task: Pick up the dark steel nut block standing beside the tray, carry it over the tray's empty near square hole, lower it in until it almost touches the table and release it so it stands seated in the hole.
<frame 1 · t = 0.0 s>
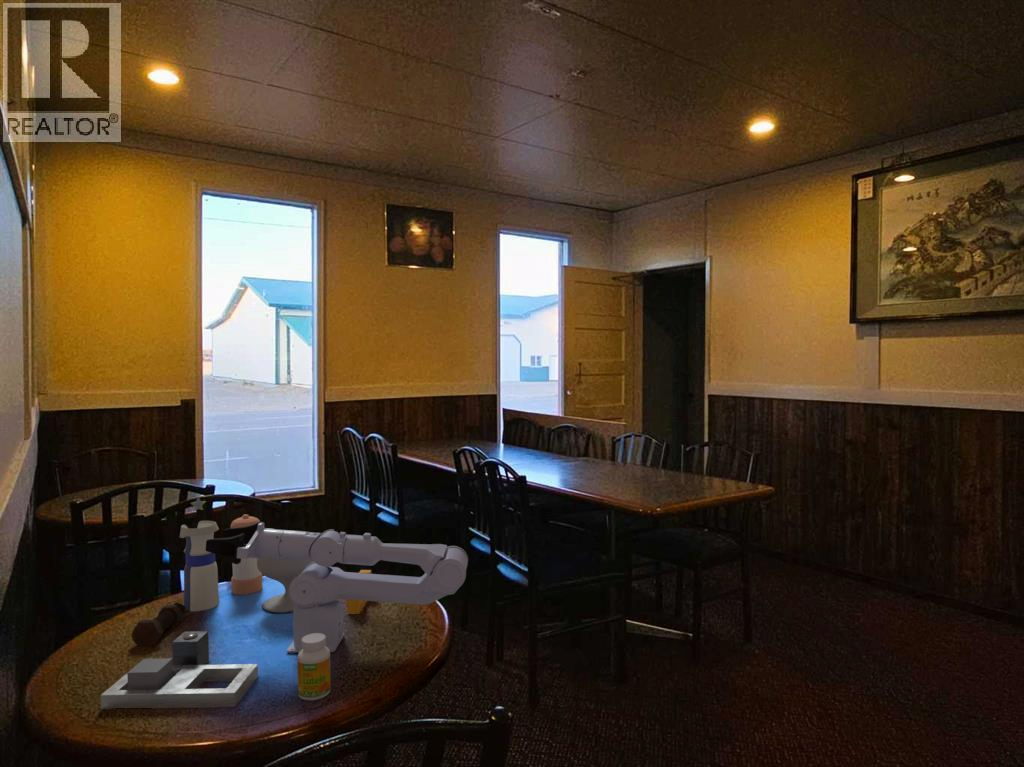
hand: (215, 539, 126), 22 cm above the table, tool horizontal, fingers open, 7 cm apart
chalice: (289, 604, 149), on the table
supplement bottle: (314, 694, 108), on the table
slate block: (151, 693, 109), resting in tray
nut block: (191, 668, 118), on the table
tray: (183, 692, 109), on the table
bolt: (164, 632, 134), on the table
pipe clamp: (356, 606, 148), on the table
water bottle: (200, 606, 148), on the table
salt shaker: (247, 590, 159), on the table
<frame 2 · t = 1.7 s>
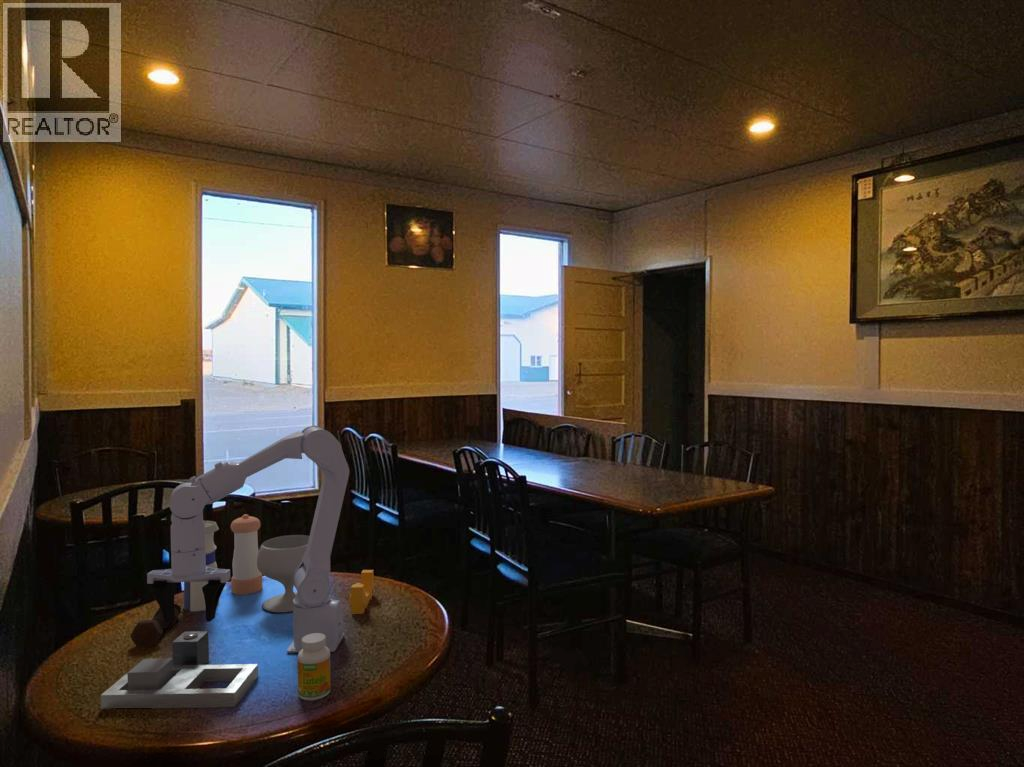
hand: (190, 620, 117), 9 cm above the table, tool pointing down, fingers open, 7 cm apart
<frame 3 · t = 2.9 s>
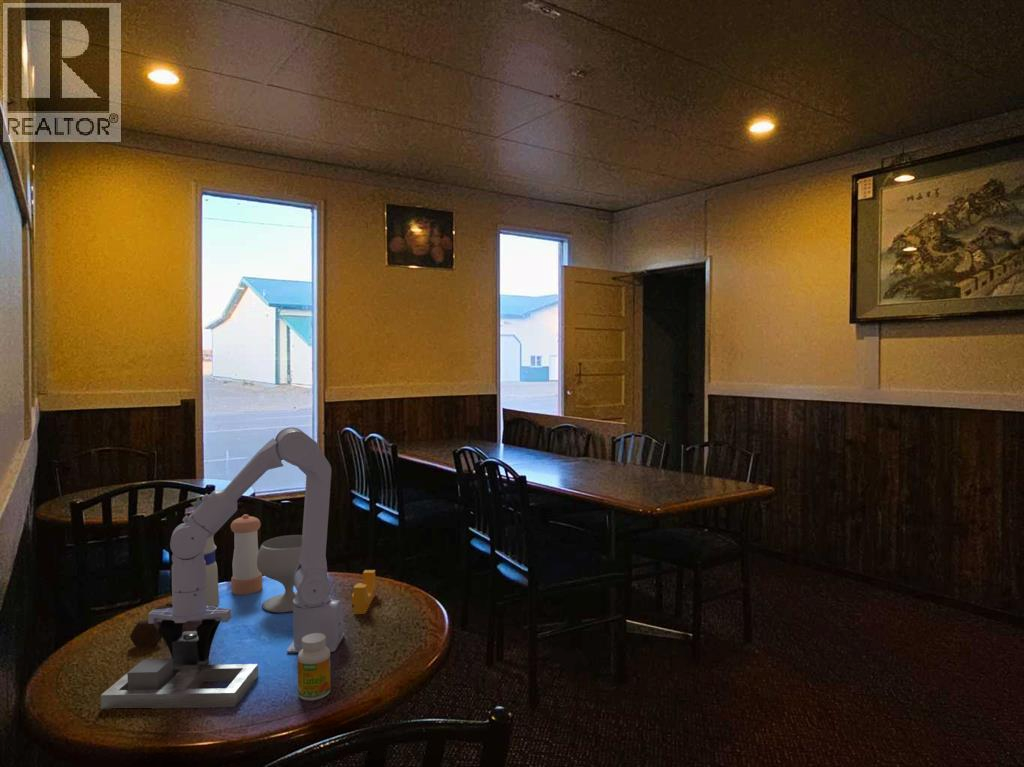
hand: (191, 659, 118), 2 cm above the table, tool pointing down, fingers closed on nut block, 4 cm apart
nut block: (191, 667, 118), on the table, touching gripper
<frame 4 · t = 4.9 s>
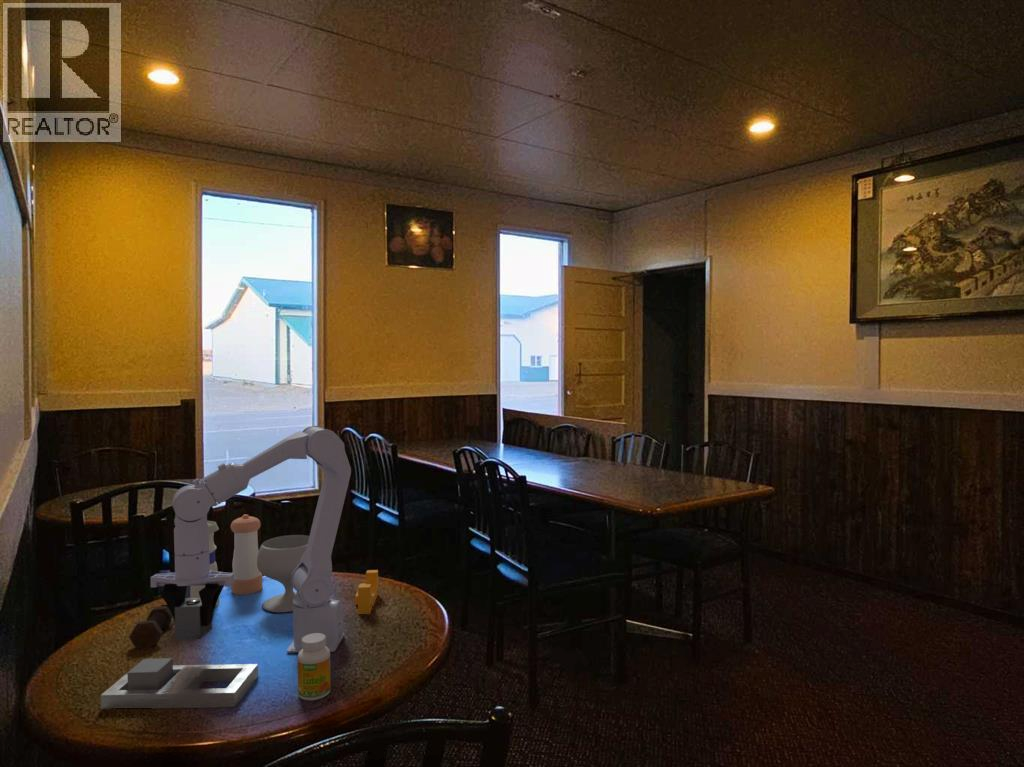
hand: (194, 624, 116), 9 cm above the table, tool pointing down, fingers closed on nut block, 4 cm apart
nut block: (194, 634, 116), point 7 cm above the table, touching gripper
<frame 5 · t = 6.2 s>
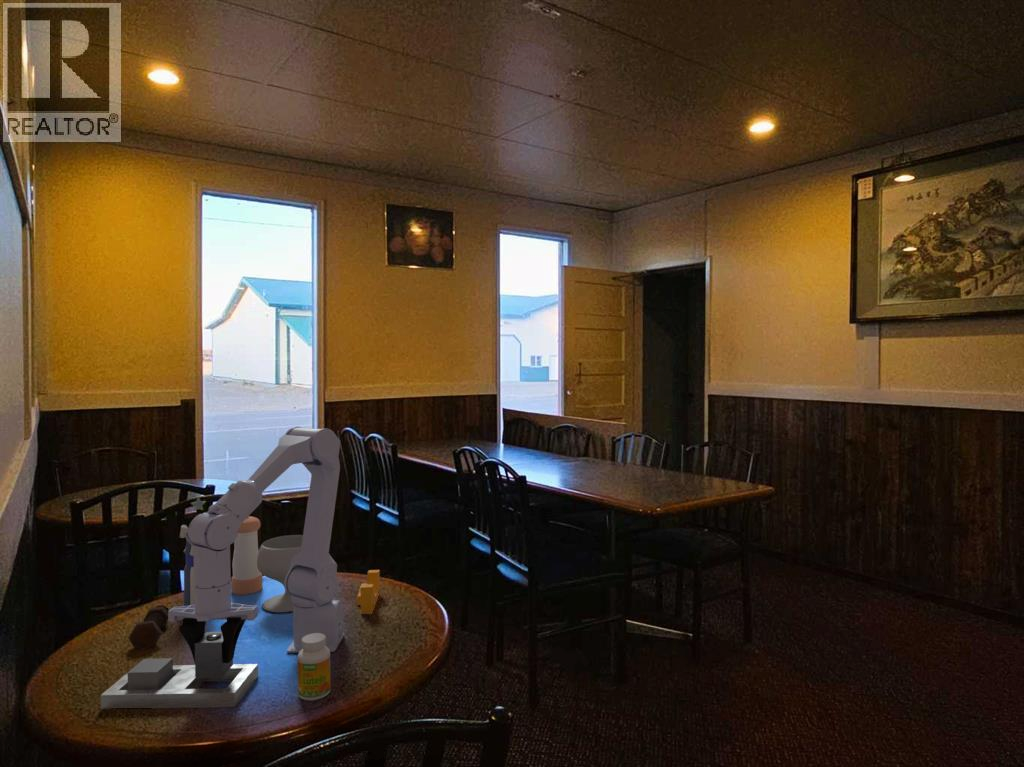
hand: (214, 660, 109), 6 cm above the table, tool pointing down, fingers closed on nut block, 4 cm apart
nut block: (214, 671, 109), point 4 cm above the table, touching gripper
when the fingers open (3 cm above the table, at t = 7.1 s): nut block drops 1 cm, resting in tray.
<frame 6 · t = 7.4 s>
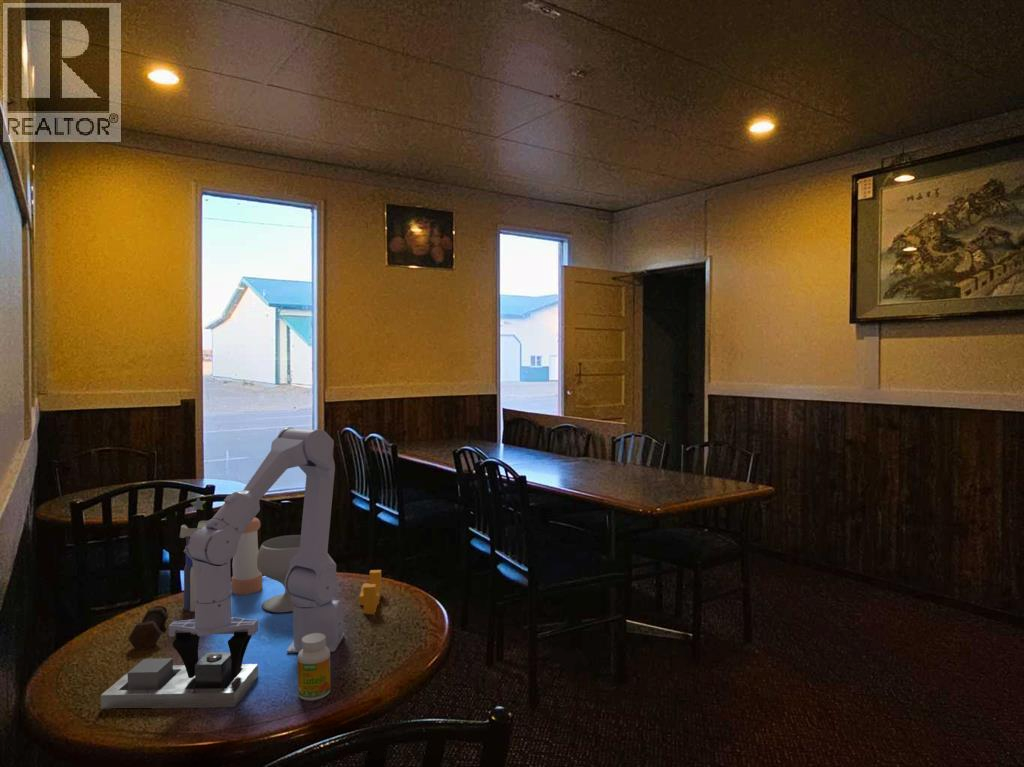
hand: (214, 674, 109), 3 cm above the table, tool pointing down, fingers open, 7 cm apart
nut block: (215, 692, 109), resting in tray
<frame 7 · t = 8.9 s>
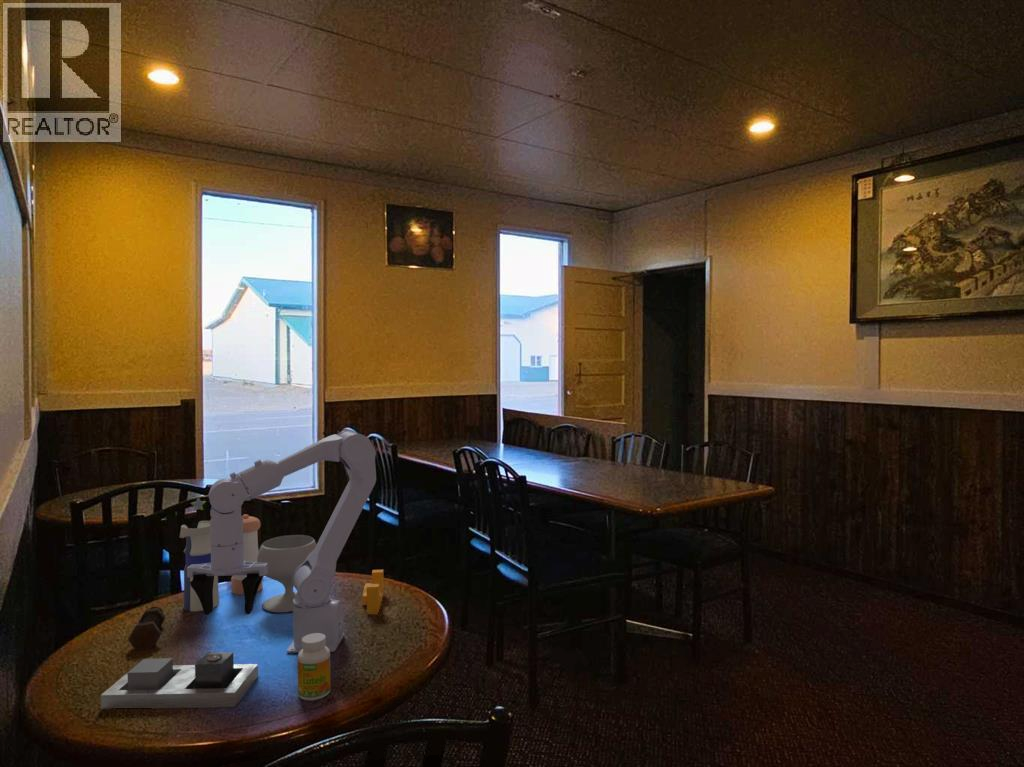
hand: (228, 612, 120), 9 cm above the table, tool pointing down, fingers open, 7 cm apart
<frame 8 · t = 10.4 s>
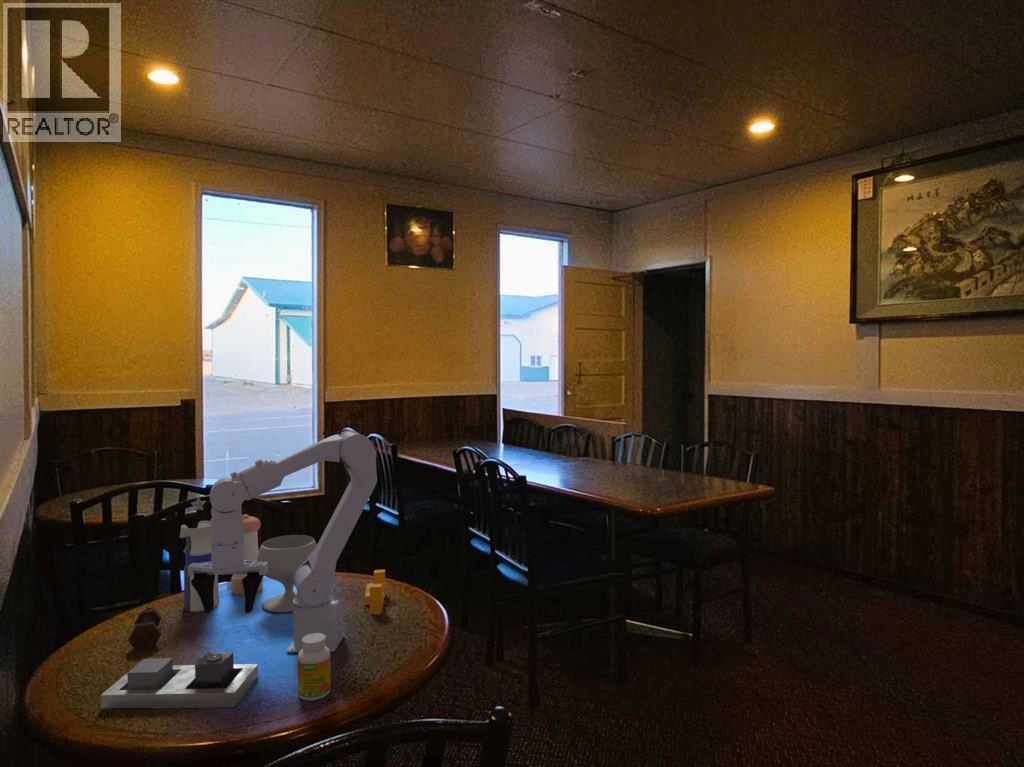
hand: (229, 611, 121), 9 cm above the table, tool pointing down, fingers open, 7 cm apart
at the end: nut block 0.0 cm from the target spot on the tray, point 0.0 cm above the tray's base; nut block tilted 0°; the gripper is holding nothing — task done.
